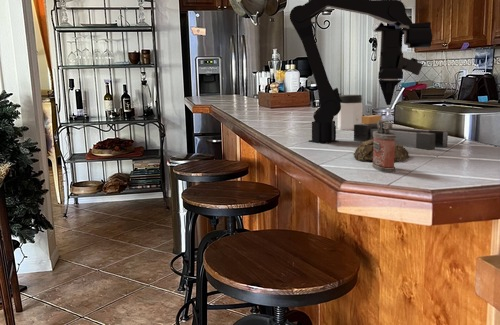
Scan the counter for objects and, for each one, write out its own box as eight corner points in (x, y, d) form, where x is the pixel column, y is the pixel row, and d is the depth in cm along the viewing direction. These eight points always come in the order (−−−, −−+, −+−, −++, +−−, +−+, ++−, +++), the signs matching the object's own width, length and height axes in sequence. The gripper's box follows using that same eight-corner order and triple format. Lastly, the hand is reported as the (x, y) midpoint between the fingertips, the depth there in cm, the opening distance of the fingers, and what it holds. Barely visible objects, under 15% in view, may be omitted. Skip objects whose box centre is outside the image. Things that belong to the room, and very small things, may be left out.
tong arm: (442, 147, 123) (443, 131, 122) (381, 141, 138) (381, 126, 137) (447, 146, 125) (447, 130, 124) (385, 140, 139) (386, 125, 139)
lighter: (369, 165, 104) (369, 119, 102) (384, 164, 105) (385, 118, 103) (382, 172, 96) (383, 122, 95) (398, 172, 97) (399, 122, 95)
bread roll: (360, 153, 122) (360, 134, 121) (411, 156, 116) (412, 135, 115) (345, 162, 110) (345, 140, 110) (401, 165, 105) (402, 142, 104)
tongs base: (426, 151, 120) (427, 131, 119) (353, 141, 141) (354, 124, 140) (449, 147, 125) (450, 128, 124) (375, 138, 146) (375, 122, 145)
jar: (348, 130, 168) (349, 96, 165) (332, 129, 174) (332, 95, 172) (367, 128, 172) (367, 94, 170) (350, 127, 179) (350, 94, 177)
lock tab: (369, 123, 138) (369, 116, 137) (361, 123, 140) (361, 116, 140) (381, 122, 140) (381, 115, 140) (373, 121, 143) (373, 115, 143)
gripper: (425, 46, 123) (421, 107, 126) (419, 49, 141) (415, 103, 143) (379, 46, 126) (377, 107, 128) (379, 50, 143) (377, 102, 146)
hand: (388, 104), depth 137 cm, fingers closed
